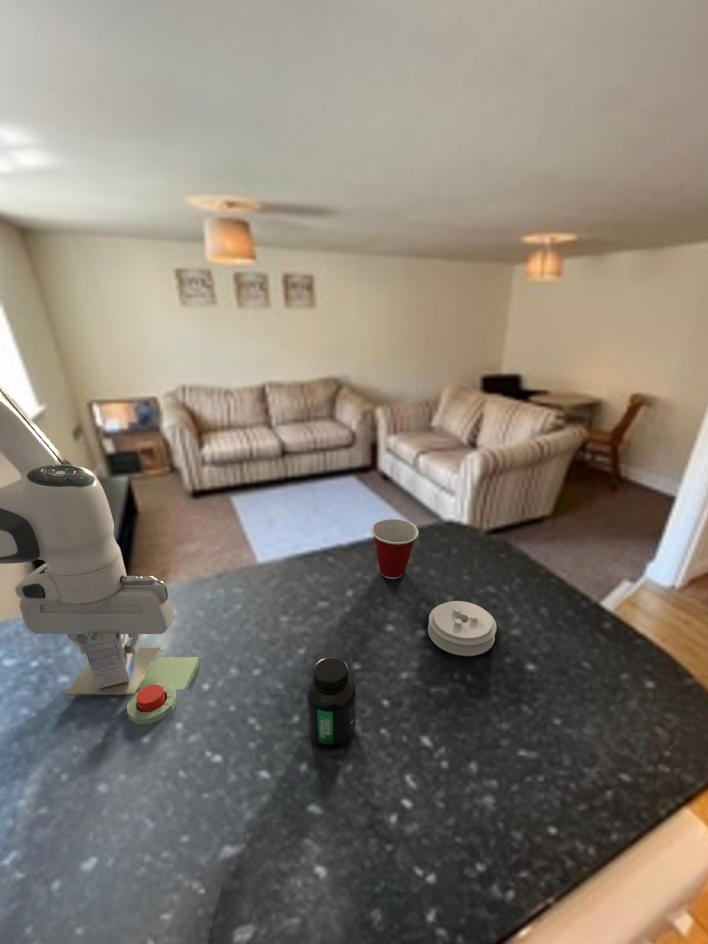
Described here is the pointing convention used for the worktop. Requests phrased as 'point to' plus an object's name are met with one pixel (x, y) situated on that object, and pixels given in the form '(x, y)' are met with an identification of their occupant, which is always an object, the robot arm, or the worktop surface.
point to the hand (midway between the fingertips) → (111, 651)
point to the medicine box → (108, 658)
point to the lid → (462, 628)
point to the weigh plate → (138, 673)
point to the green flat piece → (164, 686)
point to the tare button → (150, 698)
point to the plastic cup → (393, 545)
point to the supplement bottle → (331, 704)
